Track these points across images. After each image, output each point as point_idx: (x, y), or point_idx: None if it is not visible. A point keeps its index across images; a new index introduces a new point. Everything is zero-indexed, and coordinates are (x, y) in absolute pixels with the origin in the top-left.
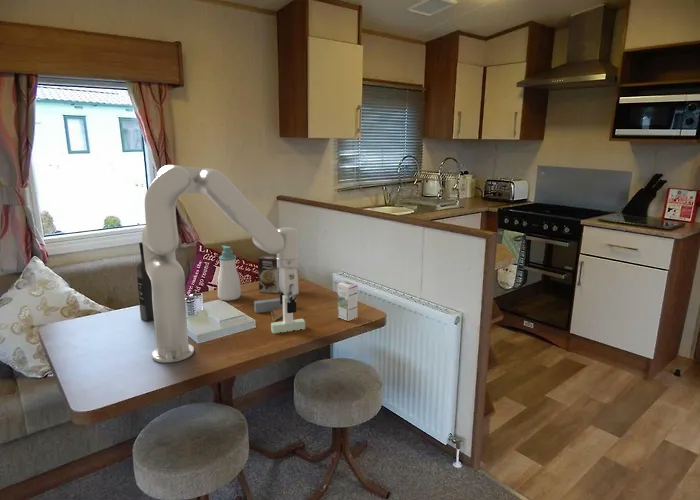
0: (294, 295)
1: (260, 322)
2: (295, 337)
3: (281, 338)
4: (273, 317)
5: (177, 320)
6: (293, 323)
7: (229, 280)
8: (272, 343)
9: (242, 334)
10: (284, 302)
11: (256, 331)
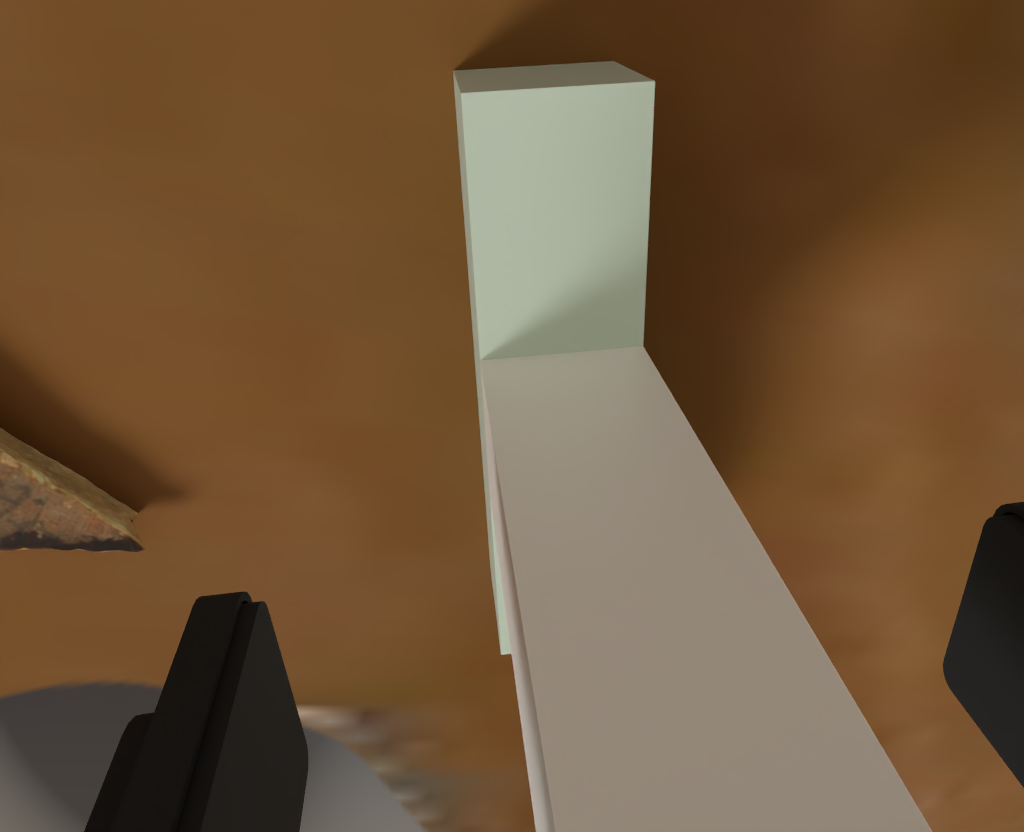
0: None
1: (163, 665)
2: (873, 302)
3: (804, 480)
4: (46, 538)
5: None
6: (639, 336)
7: None
8: (885, 581)
9: (508, 809)
10: None
11: (469, 706)
